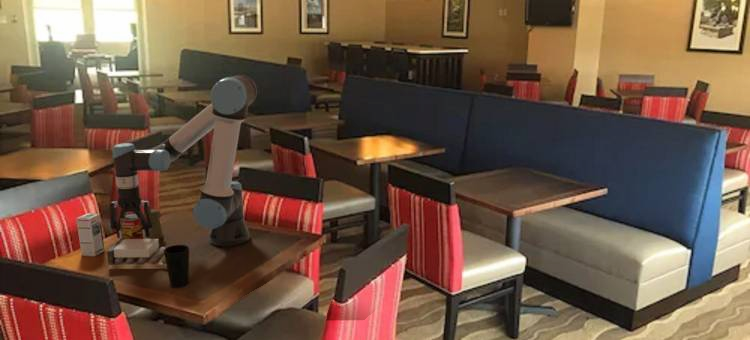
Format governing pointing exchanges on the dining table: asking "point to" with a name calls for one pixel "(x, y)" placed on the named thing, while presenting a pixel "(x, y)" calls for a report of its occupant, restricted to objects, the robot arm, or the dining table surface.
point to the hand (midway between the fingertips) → (135, 245)
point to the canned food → (131, 227)
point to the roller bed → (137, 260)
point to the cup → (177, 265)
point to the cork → (156, 226)
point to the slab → (136, 248)
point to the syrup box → (90, 234)
